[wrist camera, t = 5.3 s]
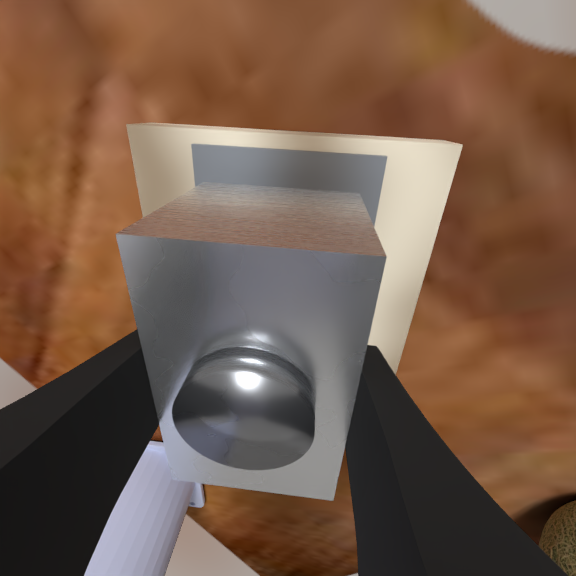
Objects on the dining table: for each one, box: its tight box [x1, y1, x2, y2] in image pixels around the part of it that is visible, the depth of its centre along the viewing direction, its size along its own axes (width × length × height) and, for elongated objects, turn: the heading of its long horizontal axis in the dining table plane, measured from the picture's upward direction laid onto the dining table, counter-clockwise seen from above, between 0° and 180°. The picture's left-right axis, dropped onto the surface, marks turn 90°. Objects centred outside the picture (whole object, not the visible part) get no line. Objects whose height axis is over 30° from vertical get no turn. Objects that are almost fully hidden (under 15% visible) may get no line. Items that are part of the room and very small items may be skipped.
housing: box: [116, 182, 387, 501], centre depth 10 cm, size 5×8×6 cm, turn 177°
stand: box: [126, 123, 463, 375], centre depth 15 cm, size 12×11×2 cm
